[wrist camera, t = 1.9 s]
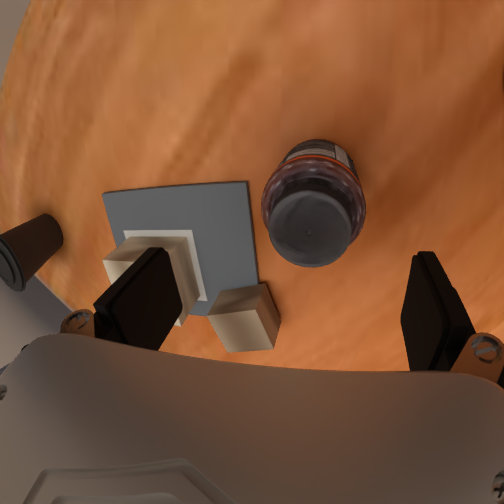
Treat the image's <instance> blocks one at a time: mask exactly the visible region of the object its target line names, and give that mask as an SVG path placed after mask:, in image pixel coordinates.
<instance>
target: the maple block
mask: <svg viewBox="0 0 504 504" xmlns="http://www.w3.org/2000/svg"><path fill="white" fill-rule="evenodd" d="M149 247H163V248H164V249H165V251H167V252H168V253H169V256H170V260H171V264H172V268H173V272H174V275H175V279H176V283H177V286H178V290H179V294H180V297H181V301H182V305H183V309H182V312H181V314H180V316H179V317H178V319H177V321H176V322H175V324H174V325H176V326H182V324H183V322H184V321H185V319H186V318H187V316H188V314H189V313H190V311H191V309H192V308H193V306H194V305H195V303H196V301H197V300H198V298H199V297H200V293H199V289H198V284H197V280H196V276H195V272H194V268H193V263H192V259H191V255H190V250H189V246H188V241H187V237H158V236H130V237H129V238H128V239H126V240H125V241H124V242H123V243H122V244H120V245H119V246H118V247H117V248H116V249H115V250H113V251H112V252H111V253H110V254H109V255H108V256H106V257H105V258H104V259H103V263H104V266H105V269H106V271H107V274H108V277H109V279H110V282H111V285H112V284H113V283H114V282H115V281H116V280H117V279H118V278H119V277H120V276H121V275H122V274H123V273H124V272H125V271H126V270H127V269H128V268H129V267H130V266H131V265H132V264H133V263H134V262H135V261H136V260H137V259H138V258H139V257H140V256H141V255H142V254H143V253H144V252H145V251H146V250H147V249H148V248H149Z"/></svg>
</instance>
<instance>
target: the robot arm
mask: <svg viewBox="0 0 504 504" xmlns="http://www.w3.org/2000/svg"><path fill="white" fill-rule="evenodd" d="M93 306H94V308H95V310H96V312H95V313H94V314H93V312H92V311H90V310H88V309H80V310H77V311H74V312H72V313H71V314H69V315H67V316H66V317H65V318H64V320H63V321H62V323H61V326H60V333H57V334H49V335H45V336H41V337H38V338H36V339H35V340H33V341H32V342H31V343H30V344H27V345H25V346H24V347H23V348H22V350H21V352H20V353H19V354H18V355H17V357H15V358H14V360H13V361H12V362H11V363H9V364H8V365H6V366H4V367H3V368H1V369H0V504H504V344H503V343H502V342H501V341H500V339H499V338H497V337H495V336H494V335H492V334H489V333H483V332H481V333H476V332H475V329H474V327H473V325H472V323H471V320H470V318H469V316H468V314H467V312H466V309H465V307H464V305H463V303H462V301H461V299H460V297H459V295H458V293H457V291H456V289H455V288H454V287H452V285H451V283H450V281H449V279H448V277H447V275H446V273H445V271H444V269H443V267H442V266H441V264H440V262H439V260H438V258H437V257H436V255H435V253H434V252H431V251H419V252H418V254H417V255H414V256H413V258H412V263H411V269H410V274H409V280H408V285H407V290H406V294H405V299H404V304H403V308H402V312H401V327H402V331H403V336H404V341H405V346H406V351H407V357H408V362H409V368H410V371H336V370H314V369H297V368H284V367H272V366H261V365H251V364H242V363H234V362H226V361H218V360H211V359H204V358H197V357H191V356H184V355H178V354H172V353H167V352H161V351H158V350H159V348H160V346H161V345H162V343H163V342H164V340H165V338H166V337H167V335H168V334H169V332H170V330H171V329H172V327H173V325H174V324H175V322H176V321H177V319H178V317H179V316H180V314H181V312H182V309H183V305H182V301H181V297H180V294H179V290H178V286H177V283H176V279H175V275H174V272H173V268H172V264H171V260H170V256H169V253H168V252H167V251H165V249H164V248H163V247H149V248H148V249H147V250H146V251H145V252H144V253H143V254H142V255H141V256H140V257H139V258H138V259H137V260H136V261H135V262H134V263H133V264H132V265H131V266H130V267H129V268H128V269H127V270H126V271H125V272H124V273H123V274H122V275H121V276H120V277H119V278H118V279H117V280H116V281H115V282H114V283H113V284H112V285H111V286H110V287H109V288H108V289H107V290H106V291H105V292H104V293H103V294H102V295H101V296H100V297H99V298H98V300H97V301H96V302H95V303H94V304H93Z"/></svg>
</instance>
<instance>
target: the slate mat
mask: <svg viewBox="0 0 504 504" xmlns="http://www.w3.org/2000/svg"><path fill="white" fill-rule="evenodd" d="M102 197H103V201H104V205H105V208H106V212H107V216H108V219H109V223H110V226H111V229H112V233H113V236H114V239H115V243H116V246H117V247H118V246H119V245H120V244H122V243H123V242H124V241H125V240H126V239H128V238H129V237H130V236H158V237H187V241H188V246H189V250H190V255H191V259H192V263H193V268H194V272H195V276H196V280H197V284H198V289H199V293H200V297H199V298H198V300H197V301H196V303H195V305H194V306H193V308H192V309H191V311H190V313H189V314H191V315H199V316H207V314H208V313H209V311H210V309H211V307H212V305H213V303H214V302H215V300H216V298H217V296H218V294H219V293H220V291H223V290H229V289H235V288H241V287H247V286H253V285H258V284H259V276H258V267H257V258H256V249H255V241H254V232H253V223H252V214H251V206H250V197H249V188H248V181H233V182H214V183H198V184H184V185H171V186H159V187H149V188H139V189H129V190H120V191H112V192H105V193H103V194H102Z"/></svg>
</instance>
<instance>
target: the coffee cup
mask: <svg viewBox="0 0 504 504" xmlns="http://www.w3.org/2000/svg"><path fill="white" fill-rule="evenodd" d="M62 244H63V235H62V231H61V229H60V226H59V225H58V223H57V222H56V220H55V219H54V218H53V217H52V216H50V215H48V214H43V215H41V216H39V217H36V218H34V219H32V220H30V221H28V222H25V223H23V224H21V225H19V226H17V227H15V228H13V229H11V230H9V231H7V232H5V233H3V234H1V235H0V277H1V278H2V280H3V281H4V282H5V283H6V284H7V285H8V286H9V287H10V288H11V289H13V290H14V291H23V290H25V286H26V282H28V280H29V279H30V278H31V277H32V276H33V275H34V274H35V273H36V272H37V271H38V270H39V269H40V268H41V267H42V265H43V264H44V263H45V262H46V261H47V260H48V259H49V258H50V257H51V256H52V255H53V254H54V253H55V252H56V251H57V250H58V249H59V248H60V247H61V246H62Z"/></svg>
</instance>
